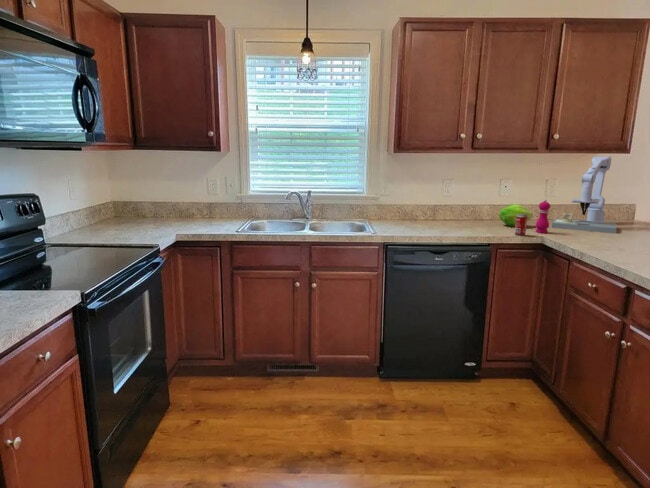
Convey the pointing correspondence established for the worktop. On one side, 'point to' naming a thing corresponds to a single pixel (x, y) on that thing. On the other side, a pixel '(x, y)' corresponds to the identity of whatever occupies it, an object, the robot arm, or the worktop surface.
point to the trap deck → (586, 225)
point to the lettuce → (513, 214)
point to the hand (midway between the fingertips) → (583, 214)
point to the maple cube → (567, 217)
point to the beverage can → (520, 224)
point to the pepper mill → (543, 217)
